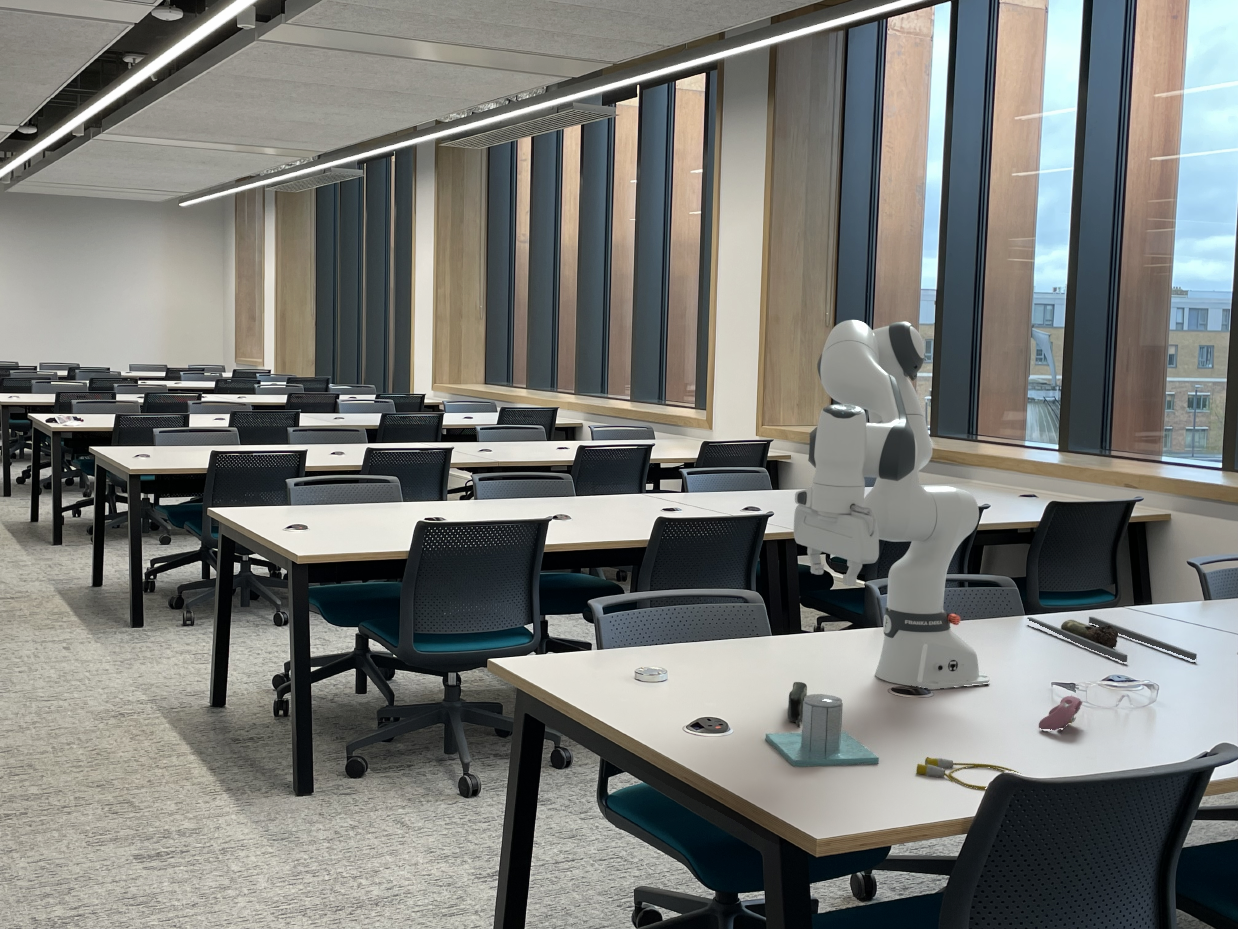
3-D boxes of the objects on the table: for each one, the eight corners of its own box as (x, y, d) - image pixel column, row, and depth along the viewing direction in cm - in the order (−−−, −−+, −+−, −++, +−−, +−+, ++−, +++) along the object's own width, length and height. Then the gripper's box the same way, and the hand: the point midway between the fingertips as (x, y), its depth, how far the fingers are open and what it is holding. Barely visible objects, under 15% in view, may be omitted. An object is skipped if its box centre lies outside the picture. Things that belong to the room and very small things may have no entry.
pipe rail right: (1092, 624, 312) (1092, 616, 311) (1196, 662, 273) (1196, 654, 272) (1088, 624, 311) (1089, 616, 311) (1192, 663, 272) (1192, 654, 272)
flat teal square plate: (844, 737, 209) (846, 699, 208) (878, 763, 195) (880, 723, 194) (765, 739, 206) (767, 701, 205) (793, 766, 192) (795, 725, 192)
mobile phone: (791, 679, 228) (787, 698, 213) (808, 680, 228) (805, 699, 213) (790, 705, 228) (786, 726, 214) (806, 707, 228) (804, 728, 213)
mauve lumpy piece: (1058, 744, 214) (1080, 711, 212) (1035, 728, 216) (1056, 696, 214) (1070, 730, 222) (1090, 699, 220) (1047, 715, 224) (1067, 684, 222)
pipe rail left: (1030, 625, 308) (1031, 617, 308) (1126, 664, 269) (1127, 655, 269) (1026, 625, 308) (1027, 617, 308) (1122, 664, 269) (1123, 655, 269)
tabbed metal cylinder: (810, 731, 208) (812, 687, 207) (845, 736, 206) (848, 691, 205) (799, 748, 198) (801, 701, 198) (836, 752, 197) (838, 706, 196)
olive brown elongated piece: (1059, 637, 296) (1060, 614, 296) (1084, 637, 297) (1086, 614, 297) (1101, 654, 279) (1102, 629, 278) (1128, 654, 280) (1129, 629, 279)
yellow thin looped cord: (947, 758, 200) (948, 746, 200) (1039, 784, 189) (1040, 771, 189) (907, 774, 192) (907, 762, 192) (1001, 802, 181) (1002, 788, 181)
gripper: (890, 509, 204) (885, 591, 205) (818, 491, 222) (814, 566, 224) (859, 510, 201) (854, 593, 203) (789, 491, 219) (784, 568, 221)
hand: (832, 579), depth 213 cm, fingers open, 8 cm apart
